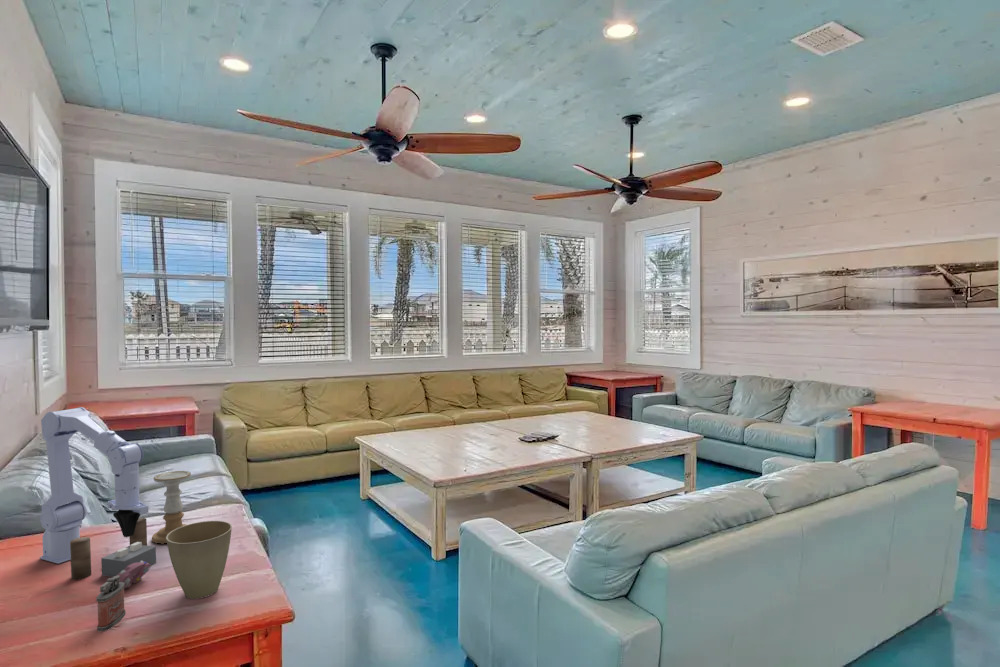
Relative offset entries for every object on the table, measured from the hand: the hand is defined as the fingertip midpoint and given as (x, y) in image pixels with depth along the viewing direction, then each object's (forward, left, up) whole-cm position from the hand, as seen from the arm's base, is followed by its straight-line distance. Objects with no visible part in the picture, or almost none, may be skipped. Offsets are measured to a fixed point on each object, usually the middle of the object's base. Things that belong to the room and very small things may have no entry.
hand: (128, 535), depth 160 cm
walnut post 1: (-8, -8, -9) cm, 15 cm away
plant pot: (+31, -2, -10) cm, 33 cm away
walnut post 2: (-8, +8, -9) cm, 15 cm away
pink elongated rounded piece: (+10, -6, -10) cm, 15 cm away
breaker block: (0, 0, -10) cm, 10 cm away
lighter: (+24, -20, -10) cm, 33 cm away
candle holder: (-10, +21, -10) cm, 25 cm away
